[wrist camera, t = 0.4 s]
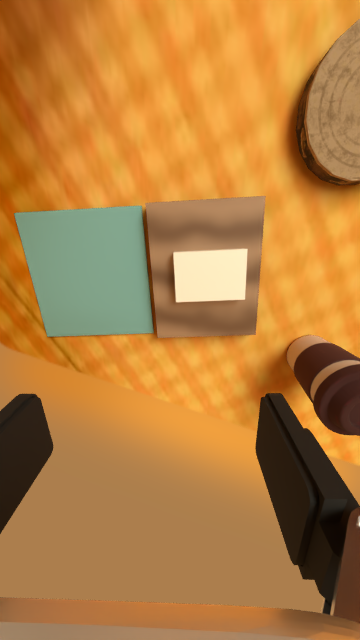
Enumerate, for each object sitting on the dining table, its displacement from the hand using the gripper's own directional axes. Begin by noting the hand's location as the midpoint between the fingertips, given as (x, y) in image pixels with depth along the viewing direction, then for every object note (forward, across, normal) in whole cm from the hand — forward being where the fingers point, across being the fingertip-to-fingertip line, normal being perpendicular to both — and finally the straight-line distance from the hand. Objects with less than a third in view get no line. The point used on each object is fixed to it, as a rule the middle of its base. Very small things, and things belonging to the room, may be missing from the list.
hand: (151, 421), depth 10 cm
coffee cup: (+29, -23, +12) cm, 39 cm away
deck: (+29, -4, -2) cm, 29 cm away
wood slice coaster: (+29, -24, -22) cm, 44 cm away
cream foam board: (+26, -5, -2) cm, 27 cm away
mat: (+29, +14, -2) cm, 32 cm away
